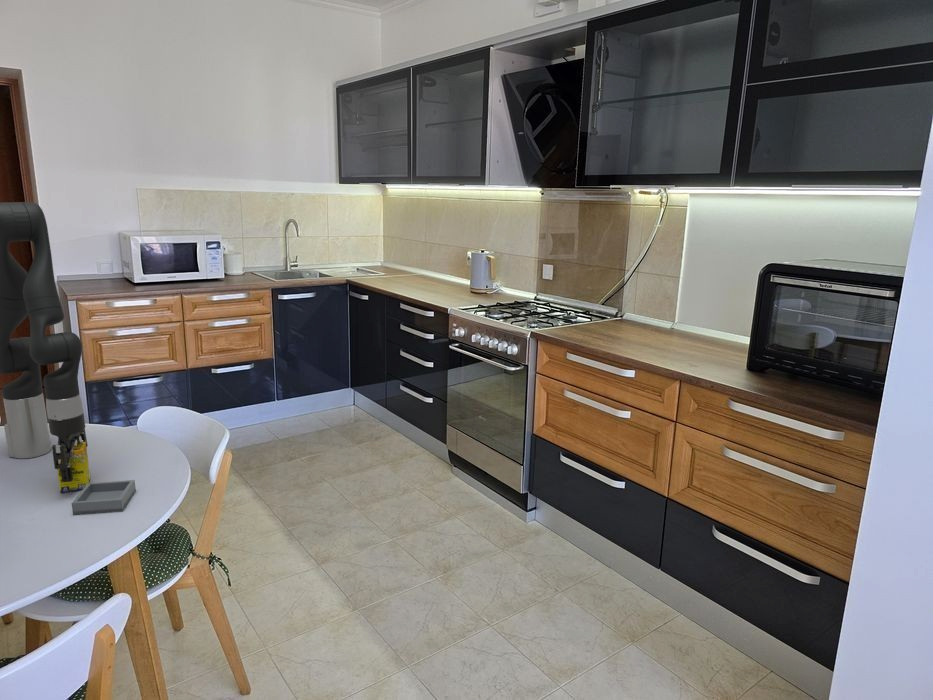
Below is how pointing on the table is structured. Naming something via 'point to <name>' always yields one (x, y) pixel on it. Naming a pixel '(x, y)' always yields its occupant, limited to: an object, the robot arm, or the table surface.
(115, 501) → the holder
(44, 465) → the table surface
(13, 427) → the robot arm
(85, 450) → the supplement box
